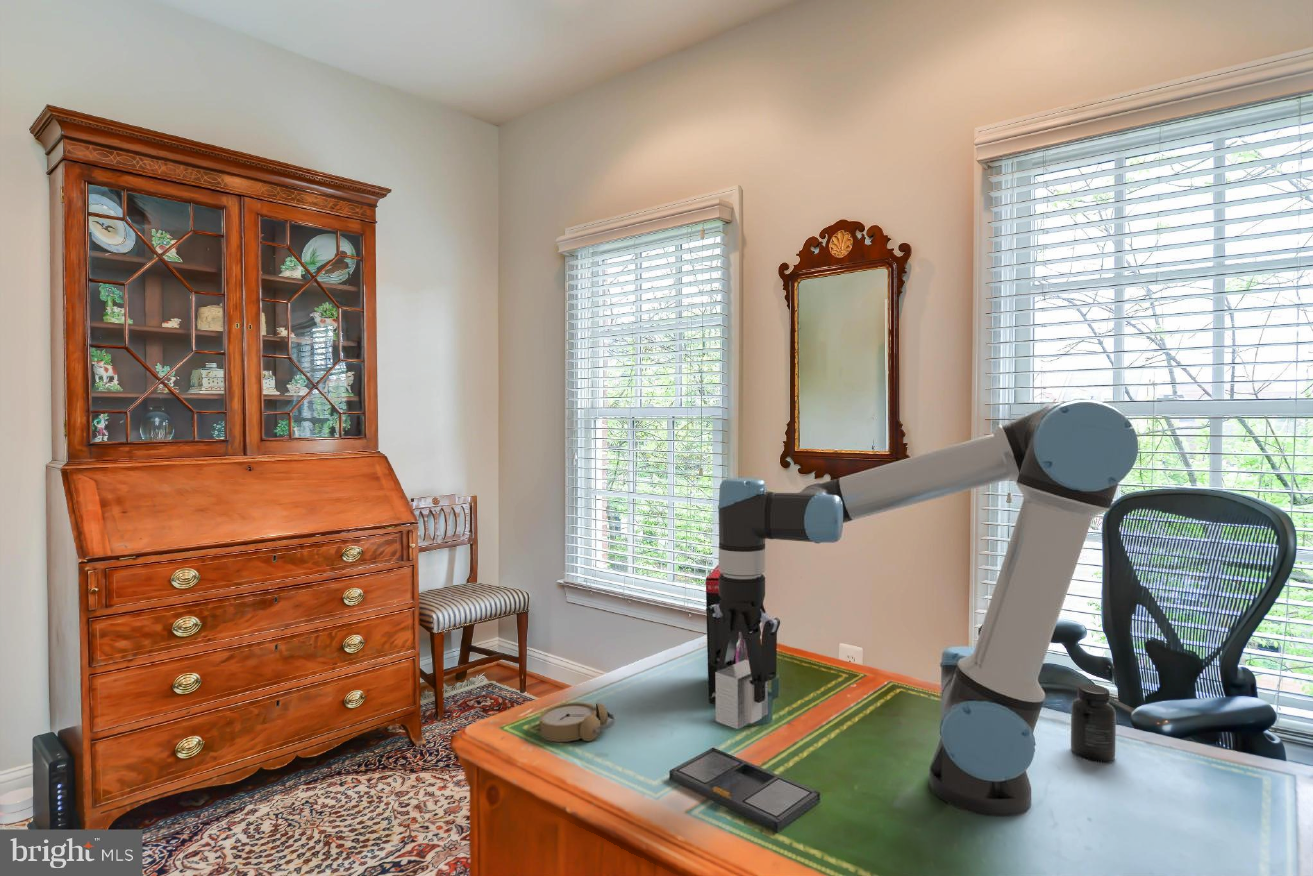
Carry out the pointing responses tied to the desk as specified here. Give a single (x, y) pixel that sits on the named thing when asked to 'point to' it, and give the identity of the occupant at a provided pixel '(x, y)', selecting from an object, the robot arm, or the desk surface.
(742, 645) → the graphics card box
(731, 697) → the grey metallic block
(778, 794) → the frame
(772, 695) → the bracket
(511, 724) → the desk surface
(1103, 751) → the supplement bottle
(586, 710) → the alarm clock
